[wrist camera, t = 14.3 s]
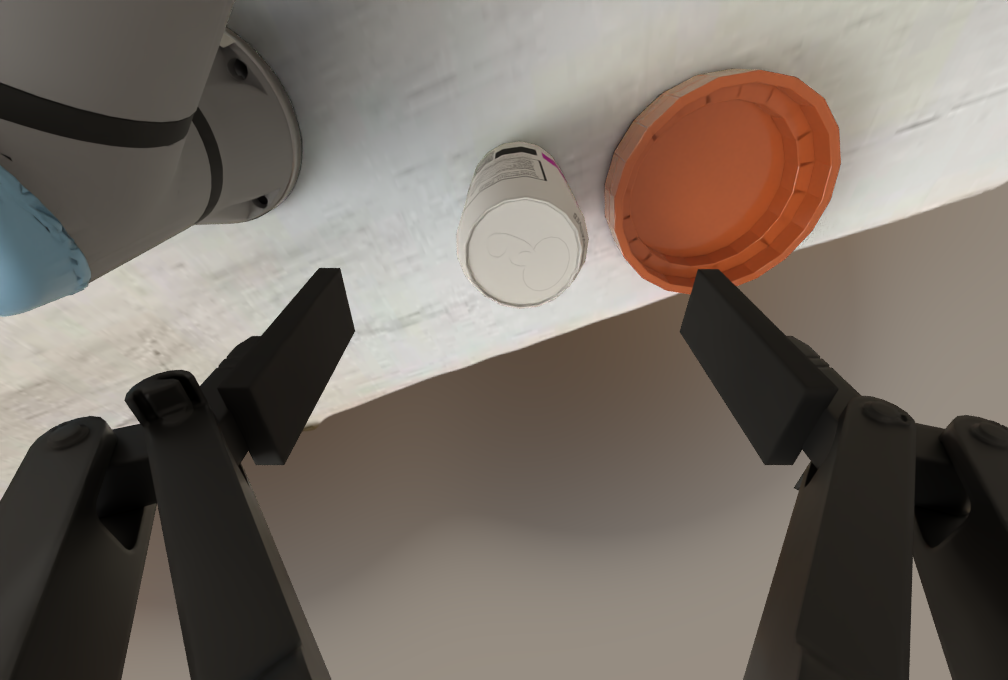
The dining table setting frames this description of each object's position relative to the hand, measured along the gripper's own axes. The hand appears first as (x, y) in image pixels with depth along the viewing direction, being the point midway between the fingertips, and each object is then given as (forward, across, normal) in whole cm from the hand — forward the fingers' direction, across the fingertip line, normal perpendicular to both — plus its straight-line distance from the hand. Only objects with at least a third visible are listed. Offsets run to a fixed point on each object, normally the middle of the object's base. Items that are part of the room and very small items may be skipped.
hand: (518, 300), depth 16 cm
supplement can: (+24, +1, -2) cm, 25 cm away
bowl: (+24, +17, -2) cm, 30 cm away
